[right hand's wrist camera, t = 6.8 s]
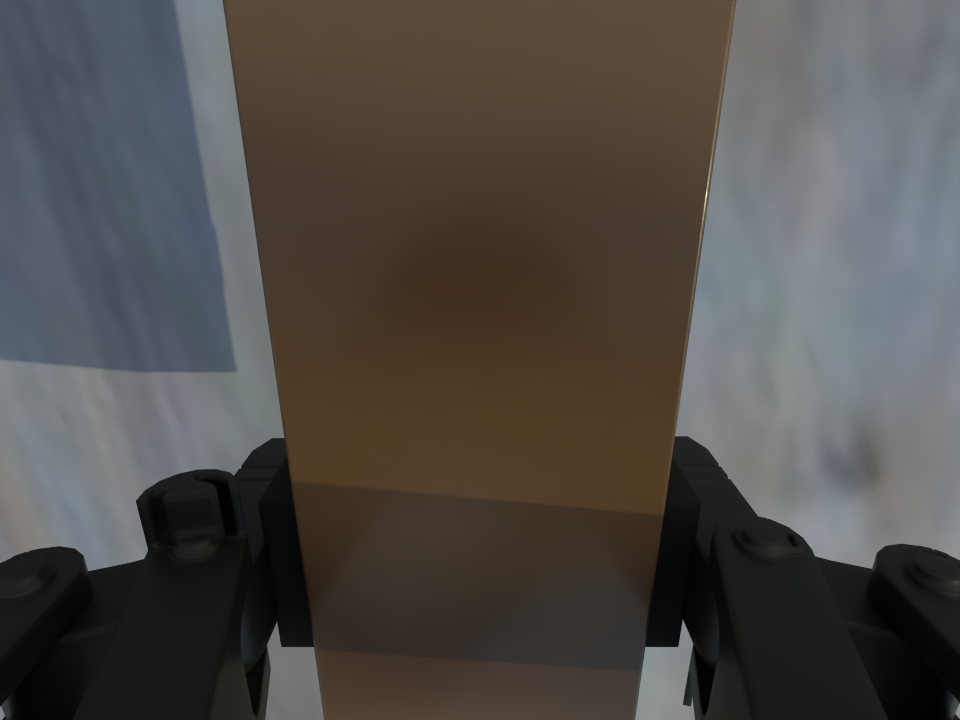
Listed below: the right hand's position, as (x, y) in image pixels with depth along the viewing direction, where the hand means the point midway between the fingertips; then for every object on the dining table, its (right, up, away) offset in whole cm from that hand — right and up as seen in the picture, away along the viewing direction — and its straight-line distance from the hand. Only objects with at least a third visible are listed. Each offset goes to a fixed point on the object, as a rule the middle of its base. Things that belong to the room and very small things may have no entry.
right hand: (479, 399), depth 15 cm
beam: (0, +26, -9) cm, 28 cm away
